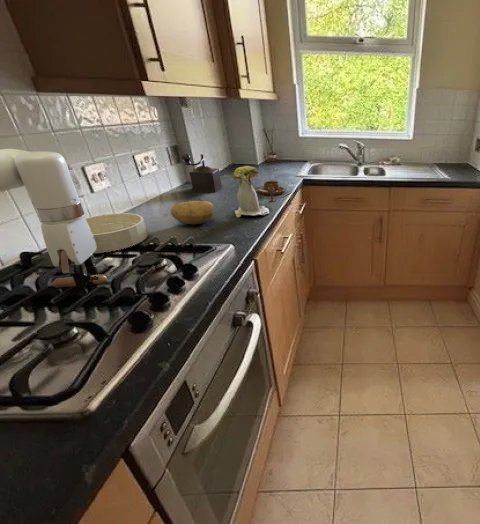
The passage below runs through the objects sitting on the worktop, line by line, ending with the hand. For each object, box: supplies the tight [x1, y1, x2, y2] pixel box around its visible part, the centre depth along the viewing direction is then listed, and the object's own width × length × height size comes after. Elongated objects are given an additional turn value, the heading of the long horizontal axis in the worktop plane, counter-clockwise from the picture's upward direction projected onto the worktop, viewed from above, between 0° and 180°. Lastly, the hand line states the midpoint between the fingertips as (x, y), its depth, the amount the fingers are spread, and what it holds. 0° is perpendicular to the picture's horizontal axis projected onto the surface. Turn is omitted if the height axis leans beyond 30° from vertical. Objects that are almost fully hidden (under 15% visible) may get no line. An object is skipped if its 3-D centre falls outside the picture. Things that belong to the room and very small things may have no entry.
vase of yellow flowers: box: [232, 165, 270, 218], centre depth 126 cm, size 12×13×18 cm
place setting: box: [255, 180, 293, 203], centre depth 154 cm, size 18×20×6 cm
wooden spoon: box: [52, 274, 108, 289], centre depth 79 cm, size 14×3×3 cm, turn 106°
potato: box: [170, 200, 215, 226], centre depth 117 cm, size 10×14×8 cm
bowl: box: [85, 212, 149, 254], centre depth 102 cm, size 19×19×6 cm
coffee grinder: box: [180, 153, 223, 194], centre depth 153 cm, size 16×11×18 cm
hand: (89, 284), depth 79 cm, fingers closed on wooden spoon, 2 cm apart
